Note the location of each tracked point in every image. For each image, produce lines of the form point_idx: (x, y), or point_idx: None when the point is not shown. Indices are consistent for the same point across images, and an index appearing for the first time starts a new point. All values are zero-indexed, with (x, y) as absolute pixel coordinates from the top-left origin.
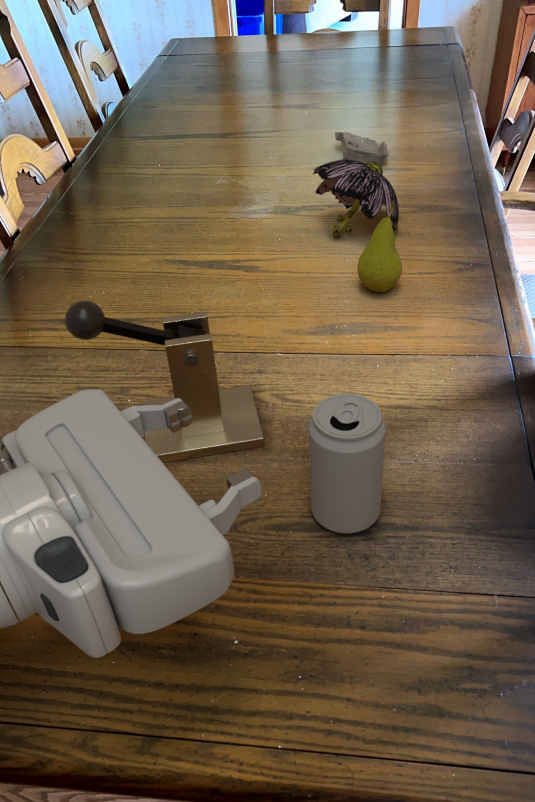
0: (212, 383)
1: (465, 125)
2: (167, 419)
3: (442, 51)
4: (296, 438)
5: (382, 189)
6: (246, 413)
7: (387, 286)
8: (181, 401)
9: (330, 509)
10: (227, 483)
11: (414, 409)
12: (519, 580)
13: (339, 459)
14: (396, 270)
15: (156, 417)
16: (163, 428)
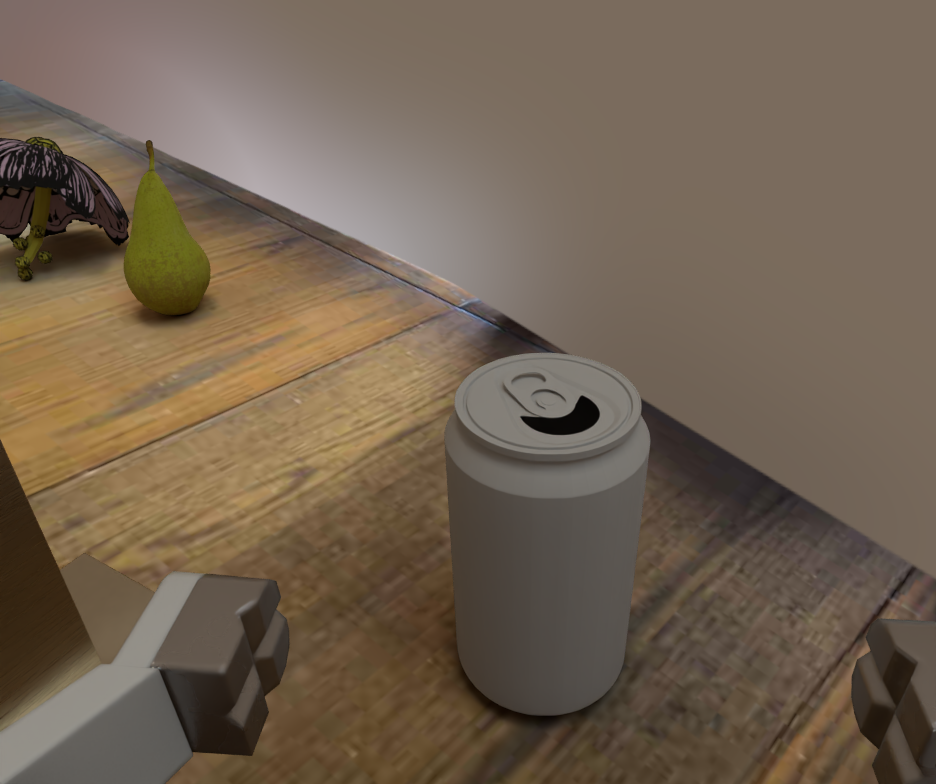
0: (39, 568)
1: (103, 133)
2: (195, 707)
3: None
4: (287, 591)
5: (81, 171)
6: (134, 611)
7: (199, 294)
8: (203, 576)
9: (581, 659)
10: (930, 755)
11: (428, 426)
12: (873, 553)
13: (615, 505)
14: (204, 260)
15: (124, 742)
16: (173, 773)
